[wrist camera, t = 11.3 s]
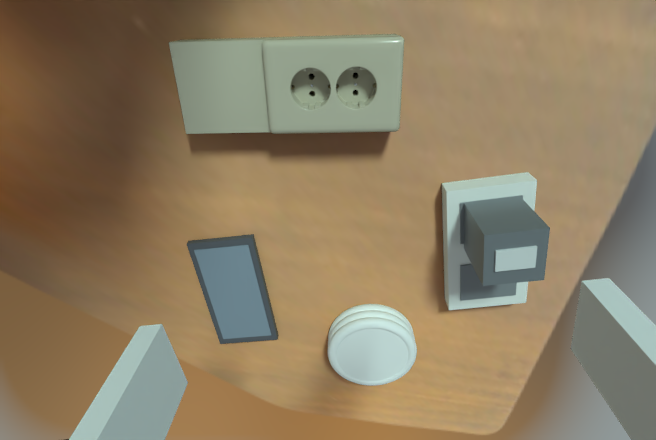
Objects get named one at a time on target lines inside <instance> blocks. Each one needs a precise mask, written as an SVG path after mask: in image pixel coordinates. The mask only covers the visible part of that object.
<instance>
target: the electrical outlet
mask: <svg viewBox="0 0 656 440" xmlns="http://www.w3.org/2000/svg"><path fill="white" fill-rule="evenodd" d="M169 46H170V52H171V57H172V62H173V67H174V72H175V78H176V83H177V88H178V93H179V99H180V104H181V109H182V114H183V120H184V125H185V130H186V134H203V133H256V132H271V133H273V134H290V133H343V132H395V131H398V130H399V127H400V109H401V91H402V73H403V55H404V39H403V38H402V37H401V36H399V35H397V34H370V35H333V36H297V37H260V38H224V39H187V40H177V41H173V42H169ZM355 72H356V73H357V75H353V73H355ZM311 73H312V74H314V76H311V75H310V74H311ZM354 90H357V91H356V92H354ZM311 91H314V92H315V93H313V92H311Z"/></svg>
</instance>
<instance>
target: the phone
mask: <svg viewBox="0 0 656 440" xmlns="http://www.w3.org/2000/svg"><path fill="white" fill-rule="evenodd" d="M187 246H188V249H189V252H190V255H191V258H192V261H193V264H194V267H195V270H196V273H197V276H198V279H199V282H200V285H201V288H202V291H203V294H204V297H205V300H206V303H207V306H208V309H209V312H210V315H211V318H212V321H213V324H214V326H215V329H216V332H217V335H218V338H219V341H220V344H225V343H238V342H251V341H264V340H277V339H278V331H277V327H276V323H275V319H274V315H273V311H272V307H271V303H270V299H269V295H268V291H267V287H266V283H265V279H264V275H263V271H262V267H261V263H260V259H259V255H258V250H257V246H256V242H255V238H254V234H252V235H242V236H232V237H223V238H213V239H203V240H193V241H188V243H187Z"/></svg>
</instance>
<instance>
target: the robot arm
mask: <svg viewBox="0 0 656 440" xmlns="http://www.w3.org/2000/svg"><path fill="white" fill-rule="evenodd" d="M571 350H572V352H573V353H574V355H575V356H576V358H577V359H578V361H579V362H580V364H581V365H582V366H583V368H584V369H585V371H586V372H587V374H588V376H589V377H590V378H591V380H592V381H593V383H594V385H595V386H596V387H597V389H598V390H599V392H600V393H601V395H602V396H603V398H604V399H605V401H606V402H607V404H608V405H609V407H610V408H611V410H612V411H613V413H614V414H615V416H616V417H617V419H618V420H619V422H620V423H621V425H622V426H623V428H624V429H625V431H626V432H627V434H628V435H629V437H630V438H631V440H656V325H655V324H653V322H652V321H651V320H650V319H649V318H648V317H647V316H646V315H645V314H644V313H643V312H642V311H641V310H640V309H639V308H638V307H637V306H636V305H635V304H634V303H633V302H632V301H631V300H630V299H629V298H628V297H627V296H626V295H625V294H624V293H623V292H622V291H621V290H620V289H619V288H618V287H617V286H616V285H615V284H614V283H613V282H612V281H611V280H610V279H609V278H606V279H596V280H586V281H582V283H581V289H580V295H579V301H578V308H577V314H576V320H575V326H574V332H573V338H572V344H571ZM187 384H188V382H187V380H186V377H185V375H184V373H183V371H182V368H181V366H180V364H179V361H178V359H177V357H176V355H175V352H174V350H173V348H172V346H171V343H170V341H169V339H168V337H167V334H166V332H165V330H164V327H163V325H162V324H157V325H147V326H140V327H139V328H138V330H137V332H136V333H135V335H134V336H133V338H132V340H131V341H130V343H129V345H128V346H127V348H126V349H125V351H124V352H123V354H122V356H121V357H120V359H119V361H118V362H117V364H116V365H115V367H114V368H113V370H112V372H111V373H110V375H109V376H108V378H107V380H106V381H105V383H104V384H103V386H102V388H101V389H100V391H99V392H98V394H97V396H96V397H95V399H94V401H93V402H92V404H91V405H90V407H89V409H88V410H87V412H86V413H85V415H84V417H83V418H82V420H81V421H80V423H79V424H78V426H77V428H76V429H75V431H74V432H73V434H72V436H71V437H70V439H66V440H165V438H166V435H167V433H168V430H169V428H170V425H171V423H172V421H173V418H174V415H175V413H176V411H177V408H178V406H179V403H180V401H181V398H182V396H183V393H184V391H185V388H186V386H187Z"/></svg>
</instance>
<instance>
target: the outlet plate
mask: <svg viewBox="0 0 656 440" xmlns="http://www.w3.org/2000/svg"><path fill="white" fill-rule="evenodd" d="M536 186H537V180H536V179H535V178H534V177H533V176H532V175H531V174H529V173H528V172H526V173H518V174H510V175H502V176H494V177H487V178H479V179H471V180H463V181H455V182H447V183H442V212H443V250H444V289H445V301H446V303H447V306H448V309H449V310H457V309H467V308H477V307H487V306H497V305H507V304H517V303H526V298H527V287H528V282H518V283H509V284H499V285H489V286H483V285H482V283H481V281H480V279H479V277H478V276H477V274H476V272H475V270H474V268H473V266H472V264H471V262H470V260H469V258H468V256H467V254H466V252H465V250H464V203H469V202H477V201H485V200H494V199H502V198H510V197H518V196H520V197H521V198H522V199H523V200H524V201H525V202H526V203H527V204H528V205H529V206H530V207H531V209H532V210H533V211H534V208H535V197H536Z"/></svg>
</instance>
